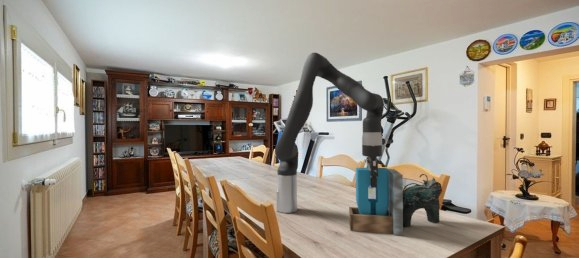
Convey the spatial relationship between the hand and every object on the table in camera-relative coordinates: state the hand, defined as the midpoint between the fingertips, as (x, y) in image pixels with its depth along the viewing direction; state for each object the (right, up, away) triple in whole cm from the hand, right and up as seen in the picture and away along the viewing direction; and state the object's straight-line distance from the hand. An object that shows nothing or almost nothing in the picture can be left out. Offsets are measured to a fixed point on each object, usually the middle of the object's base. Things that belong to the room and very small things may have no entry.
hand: (372, 185), depth 105 cm
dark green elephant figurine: (+21, -17, +3) cm, 27 cm away
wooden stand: (+1, -17, 0) cm, 17 cm away
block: (0, -14, 0) cm, 14 cm away
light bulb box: (+14, -17, +32) cm, 39 cm away
